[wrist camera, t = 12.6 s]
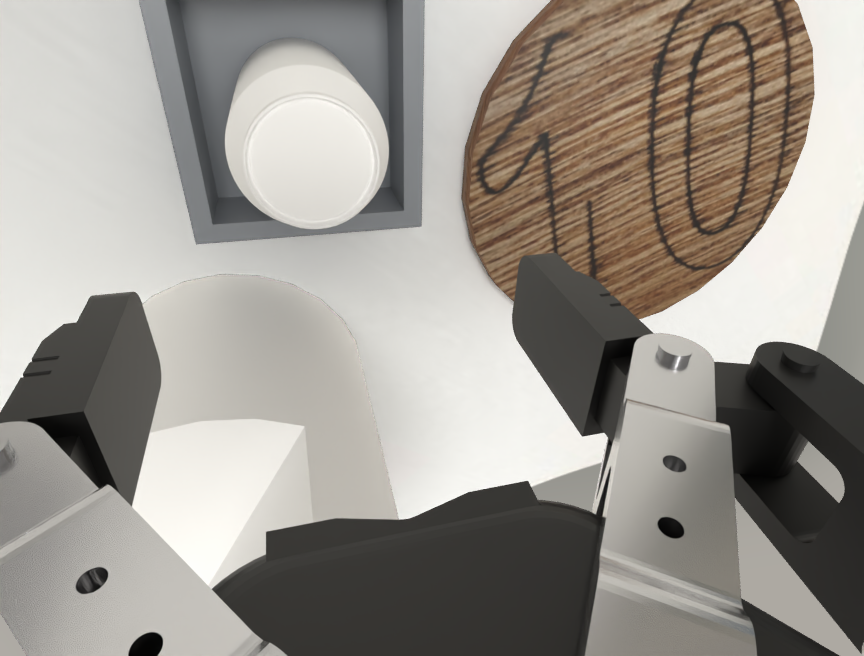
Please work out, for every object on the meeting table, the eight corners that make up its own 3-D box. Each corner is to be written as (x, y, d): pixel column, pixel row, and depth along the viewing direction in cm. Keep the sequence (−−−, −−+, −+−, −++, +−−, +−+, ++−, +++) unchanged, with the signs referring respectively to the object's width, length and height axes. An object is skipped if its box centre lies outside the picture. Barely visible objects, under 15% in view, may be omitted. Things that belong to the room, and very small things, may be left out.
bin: (204, 209, 32) (196, 244, 28) (151, -35, 26) (130, -35, 22) (403, 196, 35) (421, 226, 31) (401, -28, 28) (425, -27, 24)
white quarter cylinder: (402, 326, 40) (577, 786, 18) (301, 483, 46) (337, 972, 24) (155, 231, 32) (-103, 856, 10) (73, 437, 38) (-199, 1110, 16)
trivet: (512, 362, 45) (521, 376, 44) (403, 54, 31) (410, 59, 29) (783, 237, 46) (801, 246, 44) (804, -130, 31) (833, -136, 29)
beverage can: (226, 34, 27) (205, 73, 17) (351, 35, 28) (397, 71, 19) (246, 160, 30) (238, 251, 21) (357, 155, 32) (398, 238, 22)
